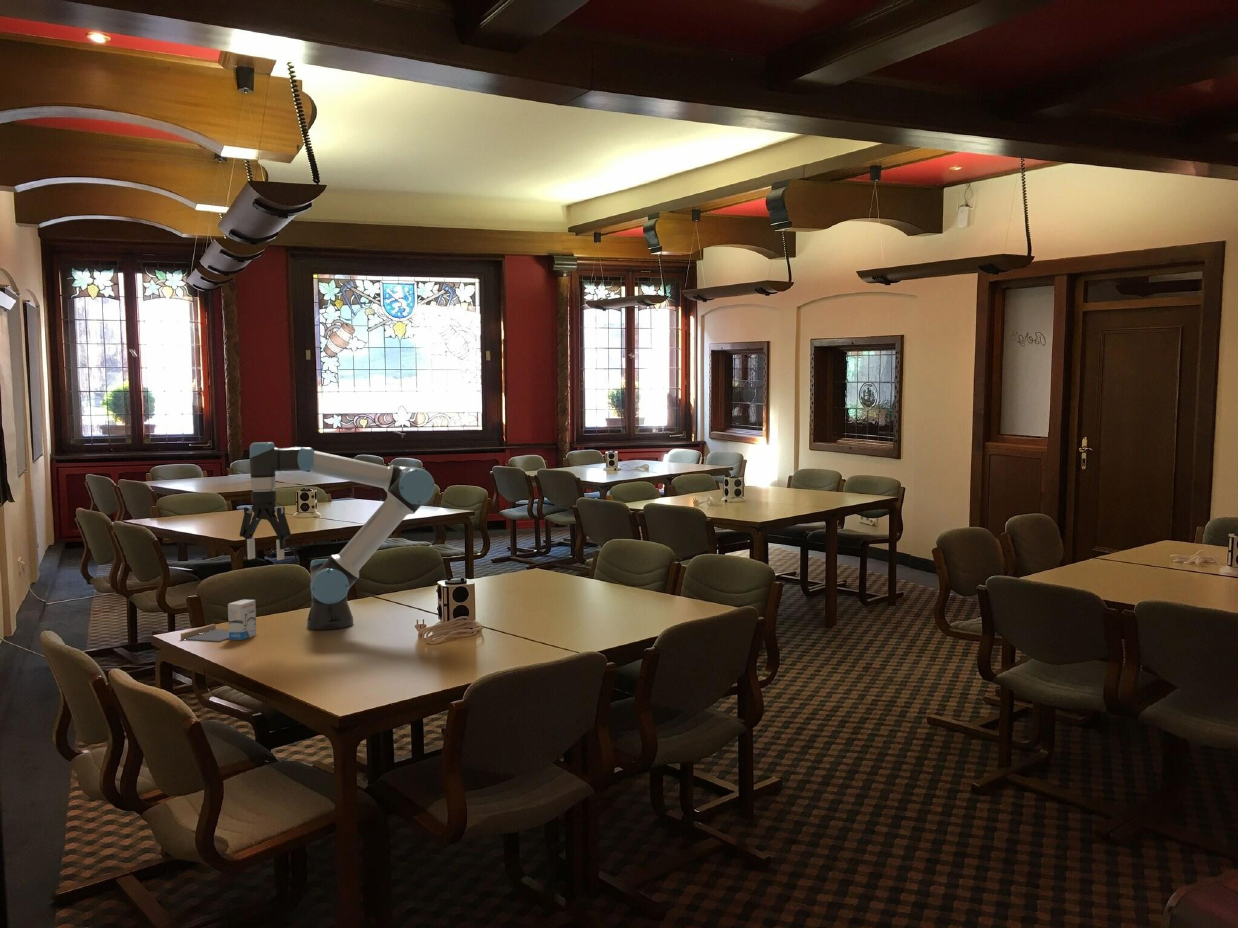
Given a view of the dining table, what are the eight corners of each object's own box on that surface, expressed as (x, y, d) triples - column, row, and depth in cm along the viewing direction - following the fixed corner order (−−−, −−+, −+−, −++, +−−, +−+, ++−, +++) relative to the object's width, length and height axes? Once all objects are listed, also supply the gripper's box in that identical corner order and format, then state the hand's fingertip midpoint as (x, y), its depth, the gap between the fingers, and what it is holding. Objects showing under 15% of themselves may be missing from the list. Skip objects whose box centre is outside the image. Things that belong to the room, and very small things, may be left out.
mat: (250, 631, 317) (250, 625, 317) (219, 642, 302) (219, 635, 302) (213, 629, 321) (213, 623, 321) (180, 639, 307) (180, 633, 307)
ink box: (242, 640, 304) (240, 604, 303) (228, 640, 305) (226, 603, 304) (257, 634, 312) (256, 599, 312) (244, 634, 313) (242, 598, 313)
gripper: (301, 489, 304) (303, 558, 305) (241, 489, 311) (244, 556, 312) (286, 491, 297) (289, 561, 298) (225, 491, 303) (228, 559, 304)
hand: (266, 559), depth 305 cm, fingers open, 10 cm apart
